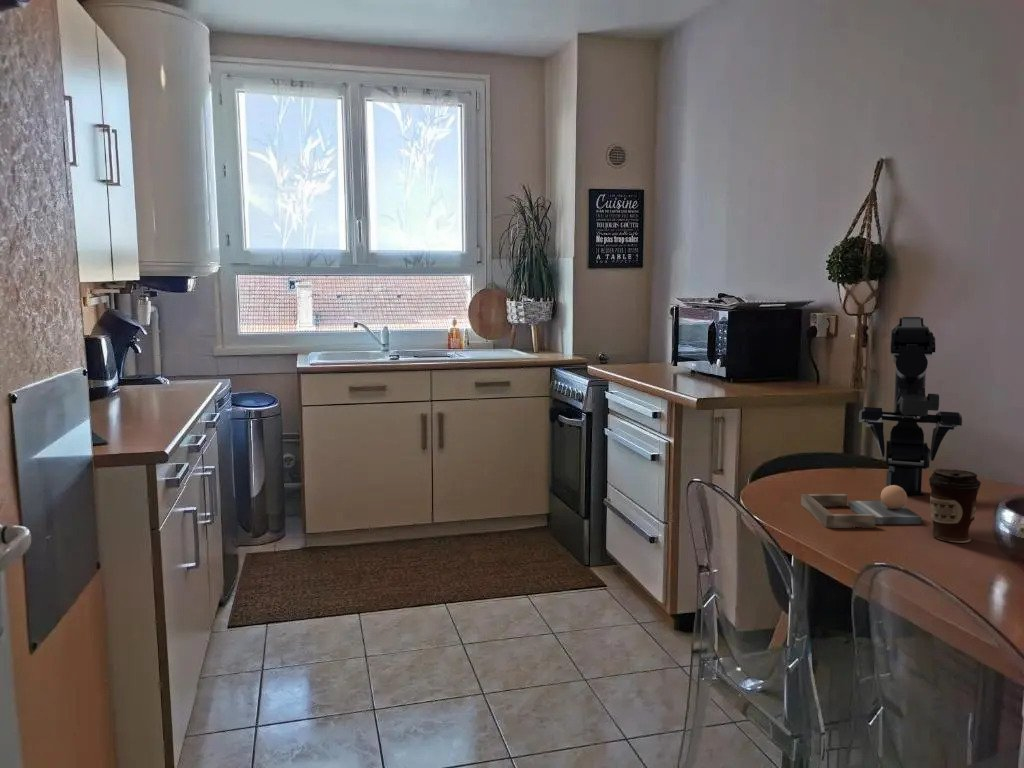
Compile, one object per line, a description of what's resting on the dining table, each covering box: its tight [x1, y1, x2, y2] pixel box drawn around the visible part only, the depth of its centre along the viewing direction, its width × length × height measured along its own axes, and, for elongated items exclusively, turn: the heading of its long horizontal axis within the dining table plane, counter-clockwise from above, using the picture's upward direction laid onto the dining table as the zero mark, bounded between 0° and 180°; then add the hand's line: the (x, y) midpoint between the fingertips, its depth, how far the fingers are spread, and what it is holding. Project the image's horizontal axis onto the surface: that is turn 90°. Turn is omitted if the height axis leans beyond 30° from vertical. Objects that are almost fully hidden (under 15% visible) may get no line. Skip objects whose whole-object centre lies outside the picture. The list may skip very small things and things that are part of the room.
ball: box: [880, 485, 908, 509], centre depth 162 cm, size 5×5×5 cm
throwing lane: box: [800, 493, 922, 529], centre depth 163 cm, size 20×16×2 cm
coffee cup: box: [928, 468, 982, 544], centre depth 147 cm, size 9×8×13 cm
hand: (907, 458), depth 161 cm, fingers open, 9 cm apart
